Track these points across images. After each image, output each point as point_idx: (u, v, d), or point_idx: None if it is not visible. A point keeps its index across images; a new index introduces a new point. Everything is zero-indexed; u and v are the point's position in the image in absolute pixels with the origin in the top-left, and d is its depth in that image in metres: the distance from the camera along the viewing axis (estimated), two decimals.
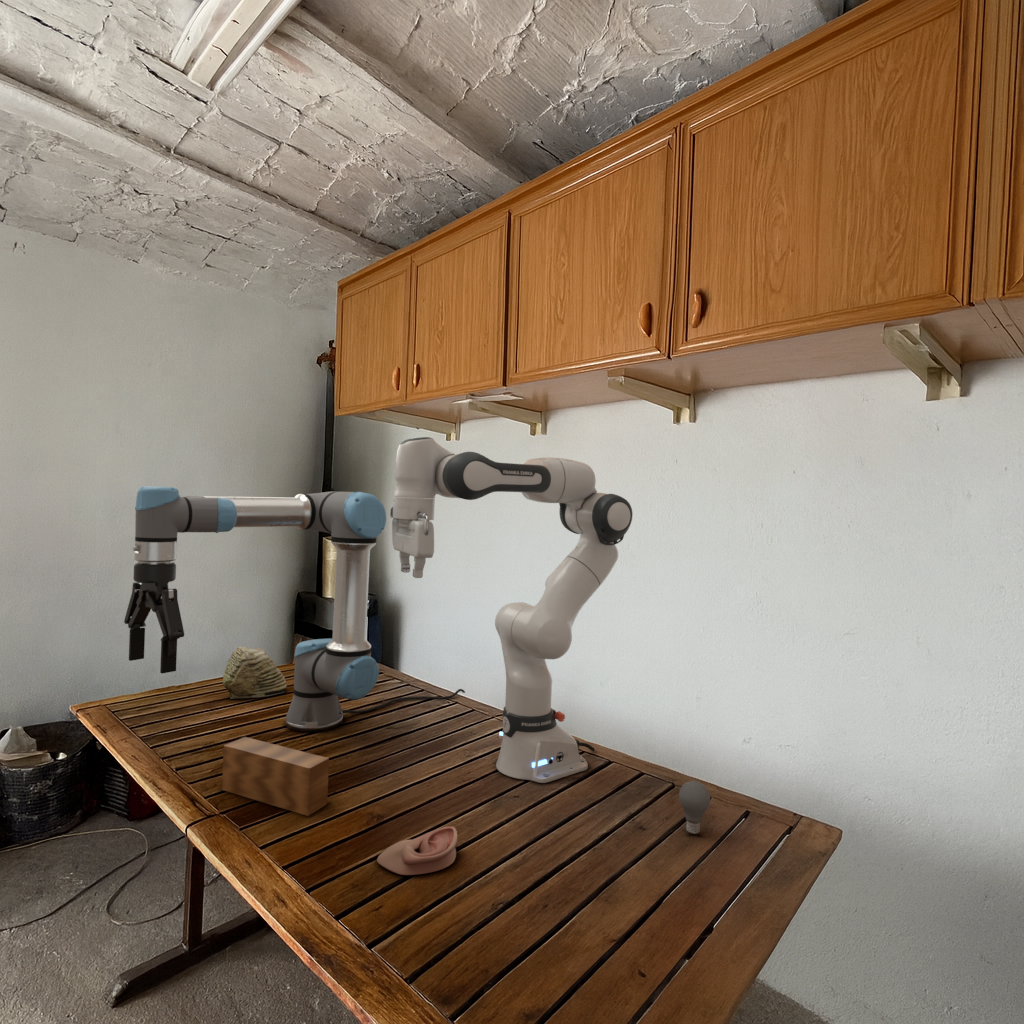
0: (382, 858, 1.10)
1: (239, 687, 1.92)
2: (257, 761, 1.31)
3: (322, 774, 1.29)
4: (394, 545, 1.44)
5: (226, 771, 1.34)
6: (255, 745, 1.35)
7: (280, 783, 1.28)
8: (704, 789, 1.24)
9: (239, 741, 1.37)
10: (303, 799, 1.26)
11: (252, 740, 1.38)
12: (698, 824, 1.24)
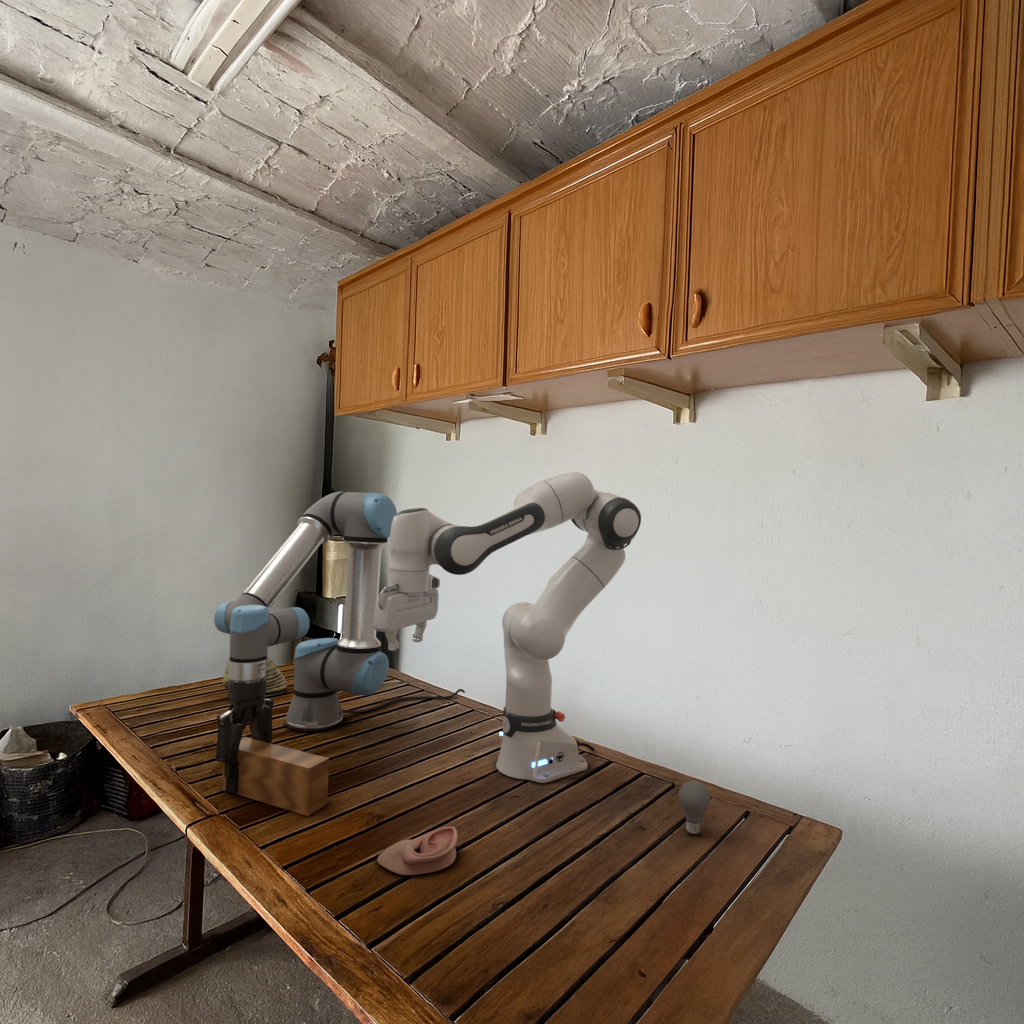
0: (382, 858, 1.10)
1: None
2: (257, 761, 1.31)
3: (322, 774, 1.29)
4: None
5: None
6: (255, 745, 1.35)
7: (280, 783, 1.28)
8: (704, 789, 1.24)
9: None
10: (303, 799, 1.26)
11: (252, 740, 1.38)
12: (698, 824, 1.24)
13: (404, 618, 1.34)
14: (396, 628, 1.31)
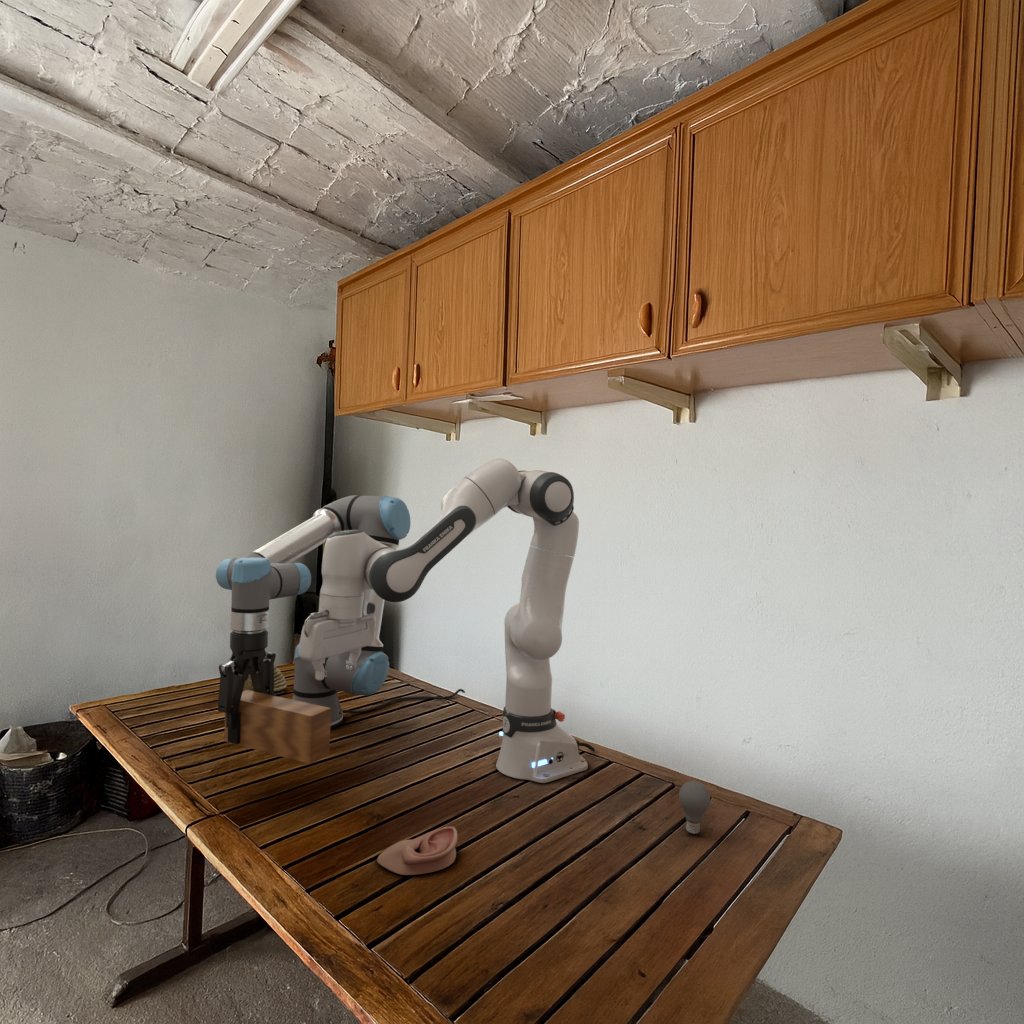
0: (382, 858, 1.10)
1: None
2: (259, 711, 1.31)
3: (324, 723, 1.29)
4: None
5: None
6: (257, 697, 1.35)
7: (282, 732, 1.28)
8: (704, 789, 1.24)
9: None
10: (305, 747, 1.26)
11: (254, 692, 1.38)
12: (698, 824, 1.24)
13: (333, 646, 1.27)
14: (323, 657, 1.24)
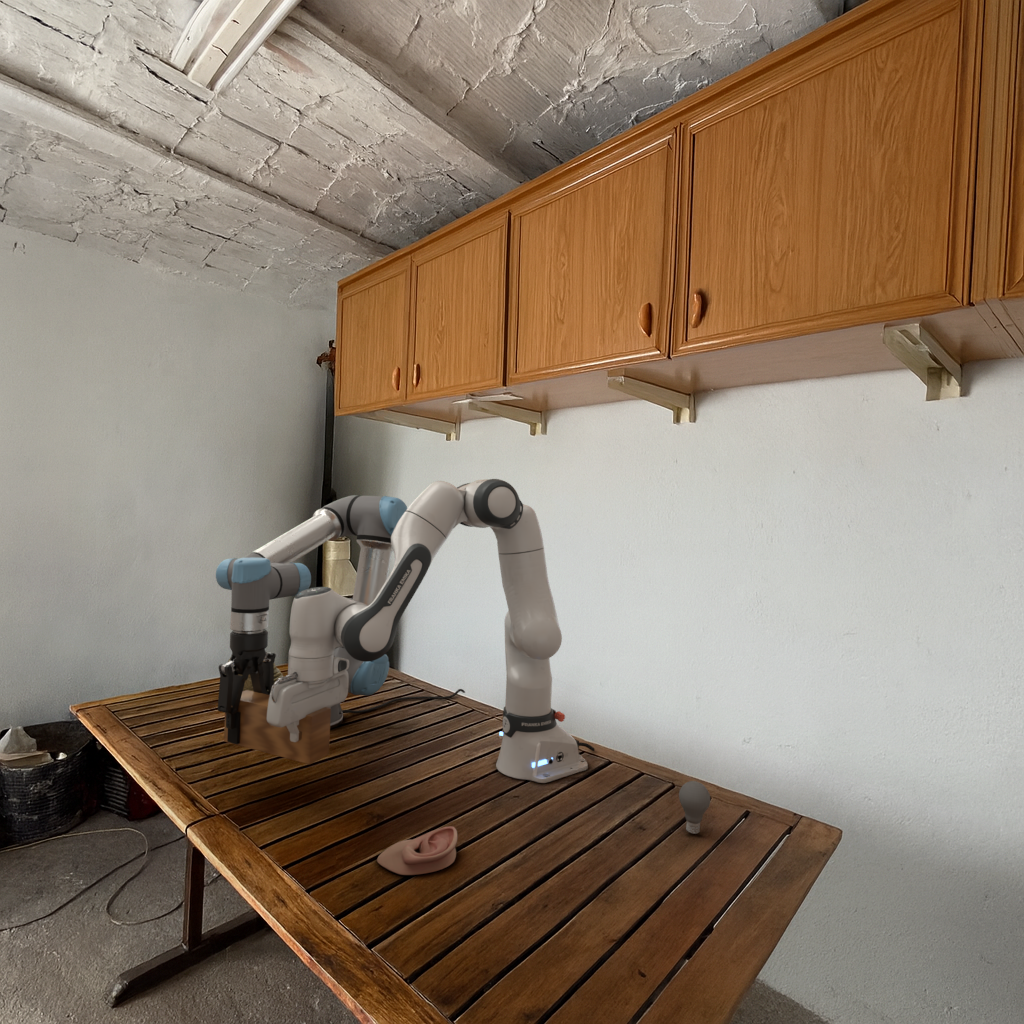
0: (382, 858, 1.10)
1: None
2: (259, 711, 1.31)
3: (324, 724, 1.29)
4: None
5: None
6: (257, 697, 1.35)
7: (281, 732, 1.28)
8: (704, 789, 1.24)
9: None
10: (304, 748, 1.26)
11: (254, 693, 1.38)
12: (698, 824, 1.24)
13: (303, 708, 1.25)
14: (292, 721, 1.22)
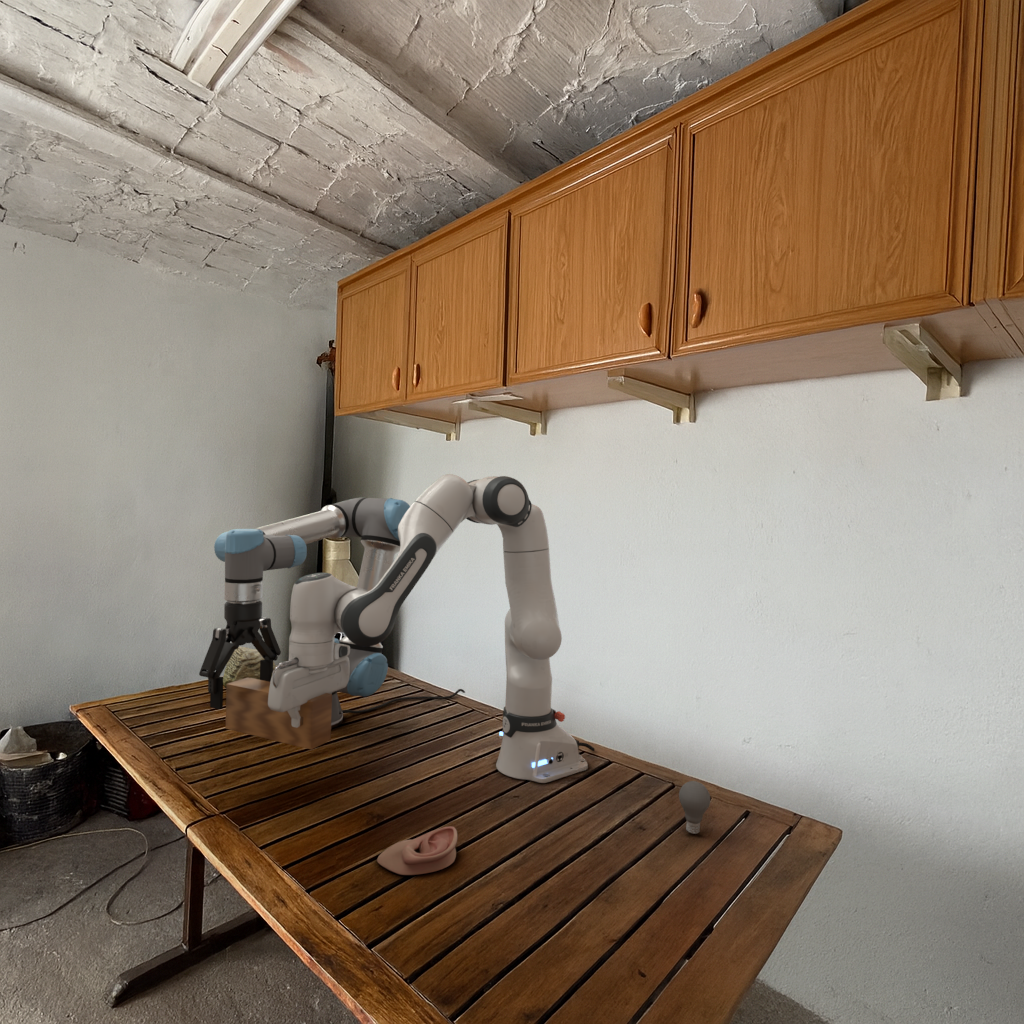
0: (382, 858, 1.10)
1: None
2: (260, 698, 1.31)
3: (325, 709, 1.29)
4: None
5: (229, 709, 1.34)
6: (258, 684, 1.35)
7: (283, 718, 1.28)
8: (704, 789, 1.24)
9: (242, 680, 1.37)
10: (306, 733, 1.26)
11: (255, 680, 1.38)
12: (698, 824, 1.24)
13: (304, 694, 1.25)
14: (294, 706, 1.22)
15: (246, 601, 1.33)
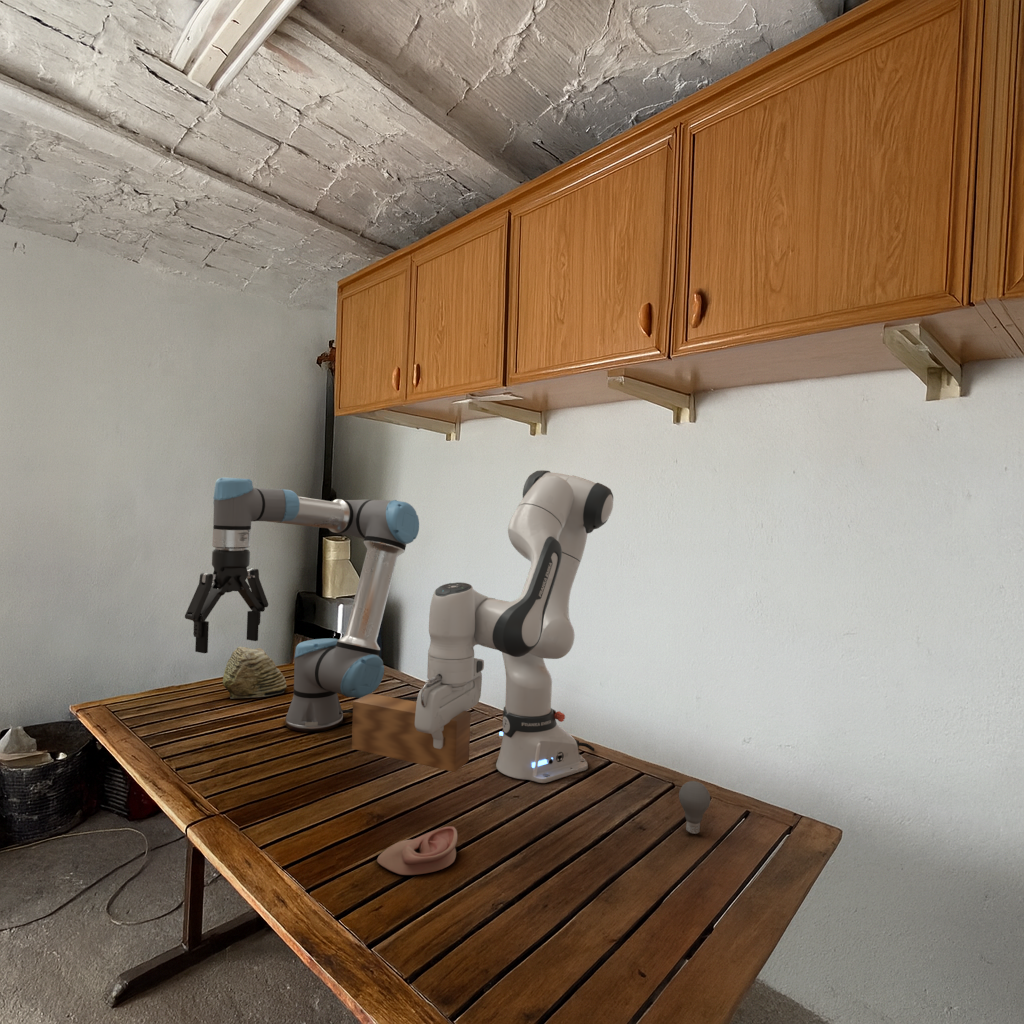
0: (382, 858, 1.10)
1: (239, 687, 1.92)
2: (394, 716, 1.22)
3: (466, 728, 1.21)
4: None
5: (356, 728, 1.26)
6: (386, 701, 1.27)
7: (421, 738, 1.20)
8: (704, 789, 1.24)
9: (367, 697, 1.29)
10: (448, 755, 1.18)
11: (380, 696, 1.30)
12: (698, 824, 1.24)
13: (448, 713, 1.17)
14: (440, 726, 1.14)
15: (233, 548, 1.35)
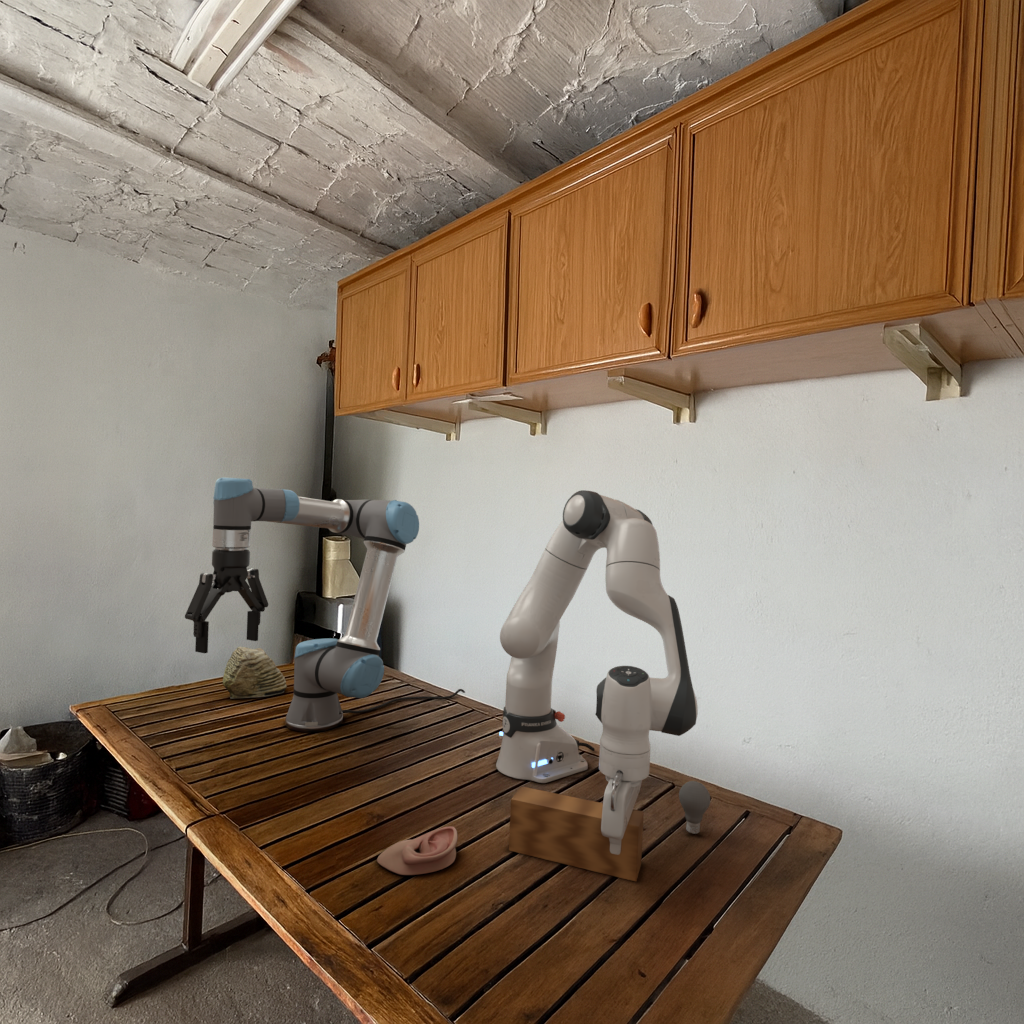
0: (382, 858, 1.10)
1: (239, 687, 1.92)
2: (561, 818, 1.13)
3: (641, 831, 1.12)
4: None
5: (515, 829, 1.16)
6: (546, 797, 1.17)
7: (595, 843, 1.11)
8: (704, 789, 1.24)
9: (522, 792, 1.19)
10: (628, 862, 1.09)
11: (535, 791, 1.20)
12: (698, 824, 1.24)
13: (629, 812, 1.08)
14: None
15: (233, 548, 1.35)
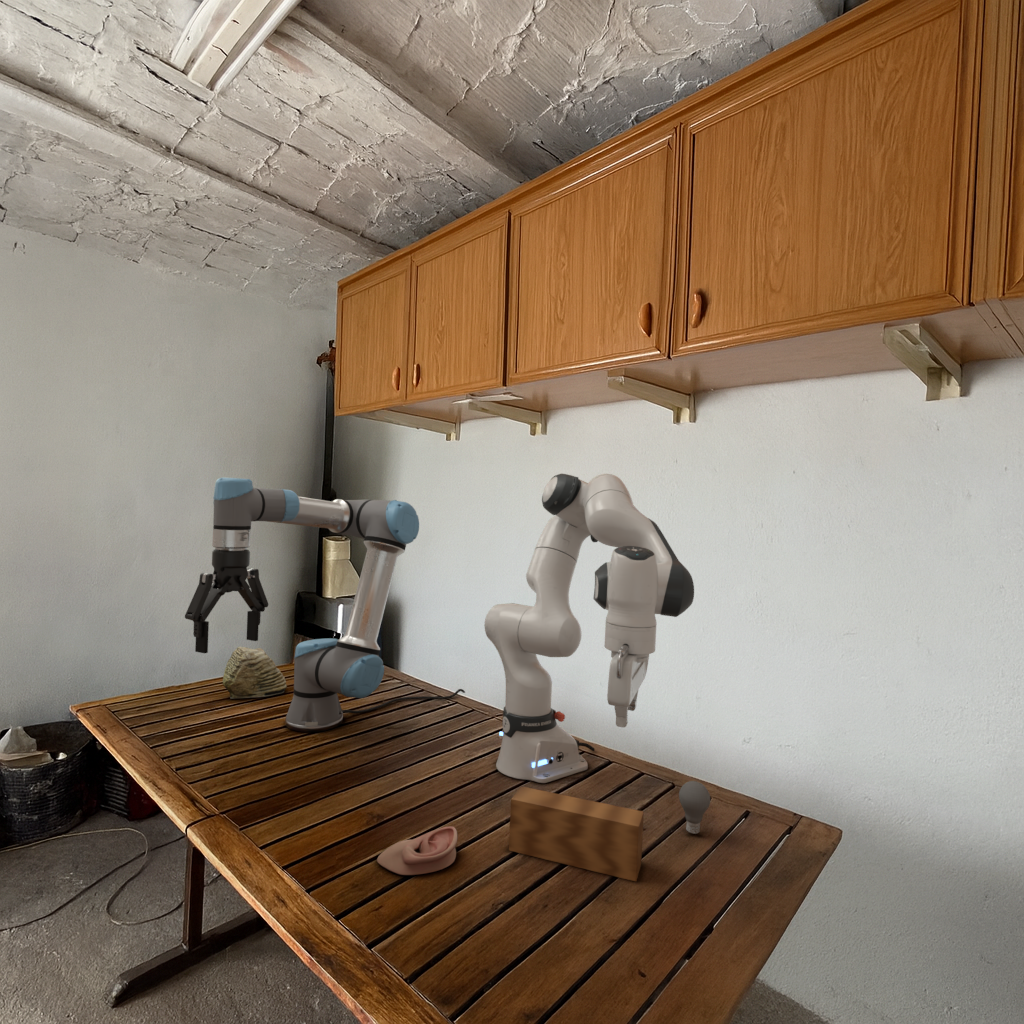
0: (382, 858, 1.10)
1: (239, 687, 1.92)
2: (561, 818, 1.13)
3: (641, 831, 1.12)
4: None
5: (515, 829, 1.16)
6: (546, 797, 1.17)
7: (595, 843, 1.11)
8: (704, 789, 1.24)
9: (522, 792, 1.19)
10: (628, 862, 1.09)
11: (535, 791, 1.20)
12: (698, 824, 1.24)
13: (635, 686, 1.07)
14: (631, 700, 1.05)
15: (233, 548, 1.35)
